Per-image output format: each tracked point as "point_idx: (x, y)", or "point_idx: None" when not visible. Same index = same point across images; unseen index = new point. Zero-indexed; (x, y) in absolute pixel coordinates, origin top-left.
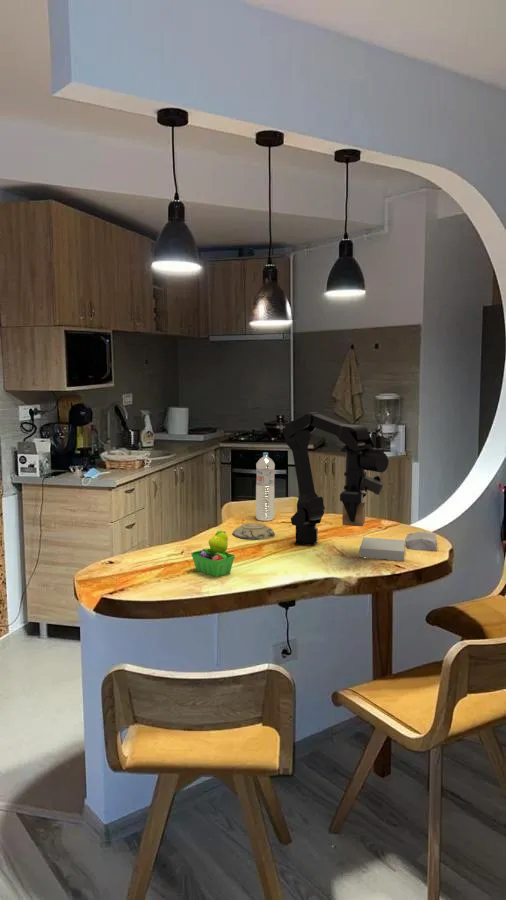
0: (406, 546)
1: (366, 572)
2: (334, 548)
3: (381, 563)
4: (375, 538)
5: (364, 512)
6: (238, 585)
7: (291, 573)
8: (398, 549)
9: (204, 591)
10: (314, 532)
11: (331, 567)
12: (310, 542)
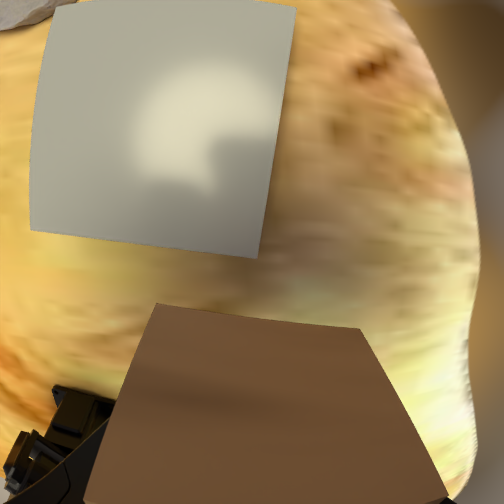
0: (39, 21)
1: (450, 222)
2: (120, 339)
3: (337, 137)
4: (36, 162)
5: (214, 400)
6: (450, 459)
7: (417, 421)
8: (258, 27)
9: (456, 475)
10: (86, 430)
11: (387, 345)
12: (105, 413)
